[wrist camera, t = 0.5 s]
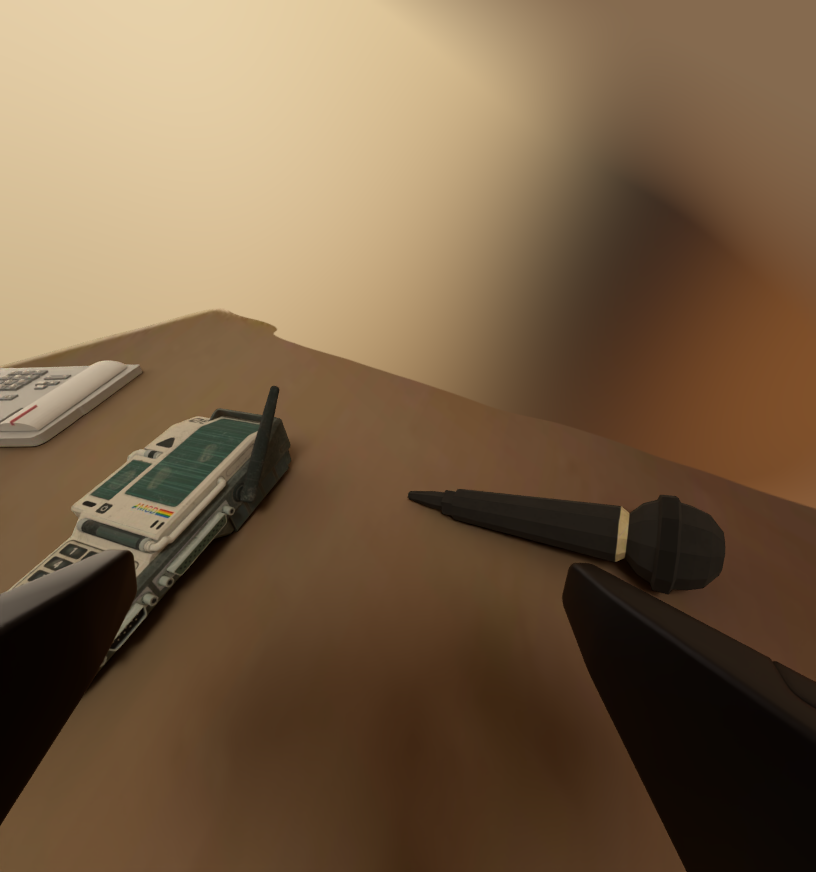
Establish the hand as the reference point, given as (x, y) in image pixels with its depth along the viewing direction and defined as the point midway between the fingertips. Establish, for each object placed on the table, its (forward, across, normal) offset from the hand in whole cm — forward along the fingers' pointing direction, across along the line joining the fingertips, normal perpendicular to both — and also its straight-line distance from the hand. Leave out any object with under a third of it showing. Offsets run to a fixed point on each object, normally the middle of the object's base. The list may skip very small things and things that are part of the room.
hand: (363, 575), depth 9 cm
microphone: (+18, -13, +9) cm, 24 cm away
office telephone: (+47, +43, +12) cm, 64 cm away
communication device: (+20, +14, +14) cm, 29 cm away
